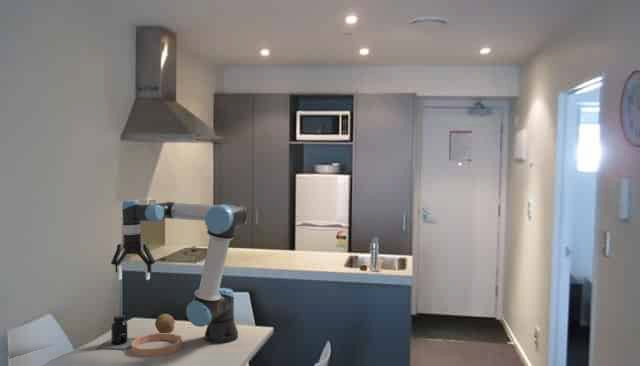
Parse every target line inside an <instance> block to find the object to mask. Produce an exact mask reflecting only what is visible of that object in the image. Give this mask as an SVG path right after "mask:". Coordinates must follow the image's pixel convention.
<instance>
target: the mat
mask: <svg viewBox="0 0 640 366" xmlns="http://www.w3.org/2000/svg"><path fill="white" fill-rule="evenodd" d="M136 338H137V337H128V340H127V342H126V343H125V344H121V345H114V344H112V342H111V338H109V339H107V340H106V341H104V342H102V343H101V344H99V345H98V346H96V347H95V349H96V350H98V349H100V350H116V351H128V349H130V348H132V344H131V342H132V341H133V340H135V339H136Z"/></svg>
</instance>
